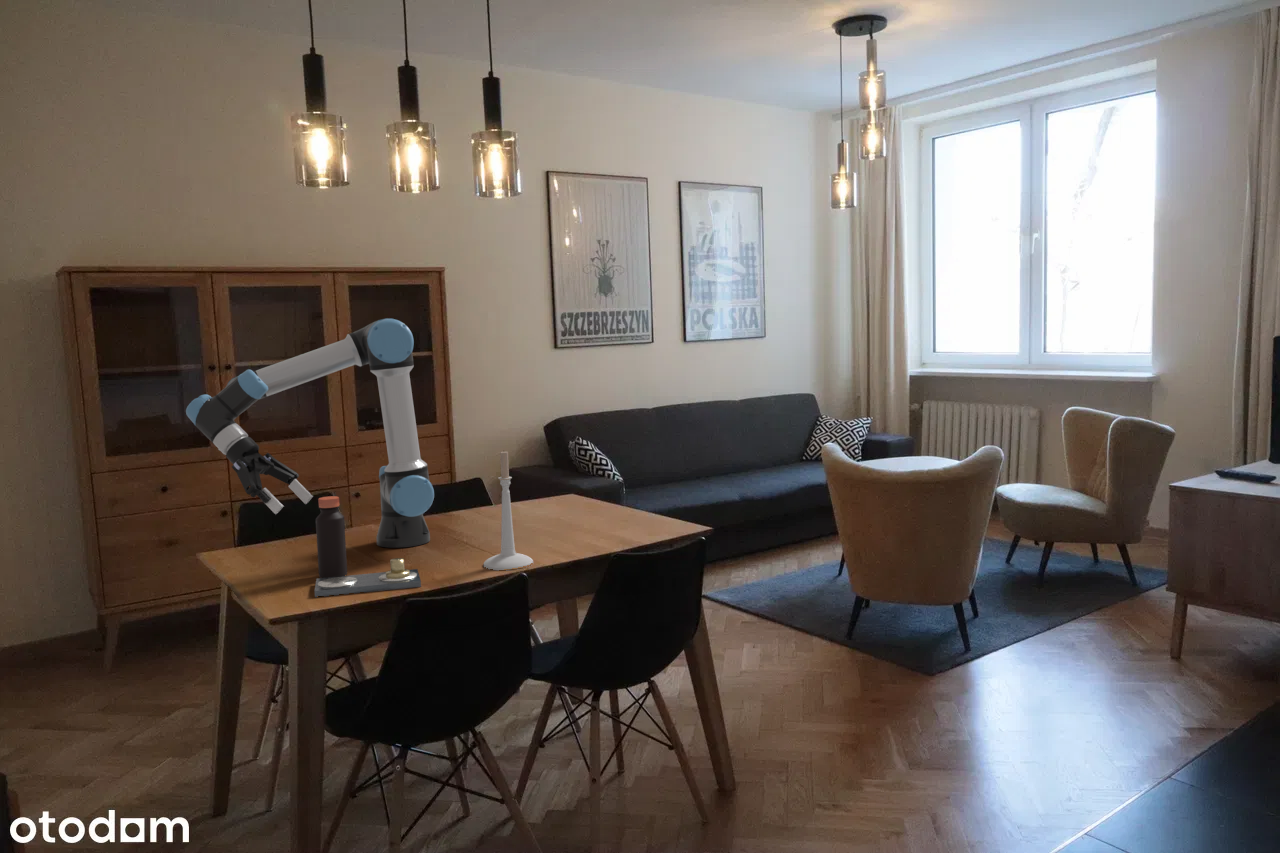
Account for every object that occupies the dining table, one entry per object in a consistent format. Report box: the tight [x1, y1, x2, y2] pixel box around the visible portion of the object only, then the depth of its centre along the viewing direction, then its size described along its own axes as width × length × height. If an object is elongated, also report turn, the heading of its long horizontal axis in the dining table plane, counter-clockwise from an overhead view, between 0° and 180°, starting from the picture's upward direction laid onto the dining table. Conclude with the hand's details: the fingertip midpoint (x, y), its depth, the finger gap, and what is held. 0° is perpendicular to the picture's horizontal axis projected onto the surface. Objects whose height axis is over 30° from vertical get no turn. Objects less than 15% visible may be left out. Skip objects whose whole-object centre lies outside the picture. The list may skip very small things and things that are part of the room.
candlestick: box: [483, 451, 534, 571], centre depth 240 cm, size 13×13×30 cm
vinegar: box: [315, 495, 348, 578], centre depth 233 cm, size 7×7×20 cm
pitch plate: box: [314, 557, 422, 598], centre depth 224 cm, size 24×12×6 cm, turn 107°
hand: (294, 505), depth 234 cm, fingers open, 13 cm apart
